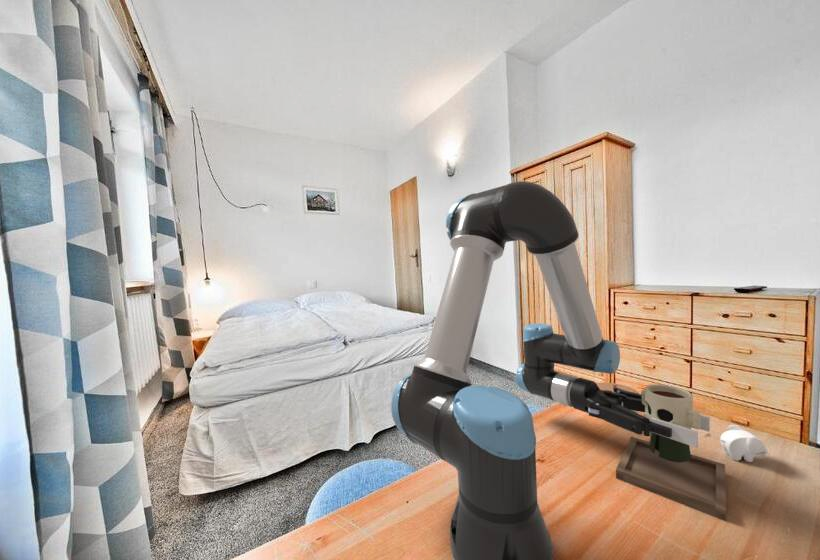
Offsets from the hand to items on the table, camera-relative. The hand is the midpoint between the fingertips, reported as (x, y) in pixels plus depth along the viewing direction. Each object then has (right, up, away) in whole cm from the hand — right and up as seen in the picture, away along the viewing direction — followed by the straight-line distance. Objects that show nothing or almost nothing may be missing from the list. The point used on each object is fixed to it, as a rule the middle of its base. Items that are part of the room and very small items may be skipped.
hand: (703, 431), depth 54 cm
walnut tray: (-2, -11, +4) cm, 12 cm away
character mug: (-2, -7, +4) cm, 9 cm away
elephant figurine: (+16, -10, +8) cm, 21 cm away
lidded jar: (+3, -10, +27) cm, 29 cm away
